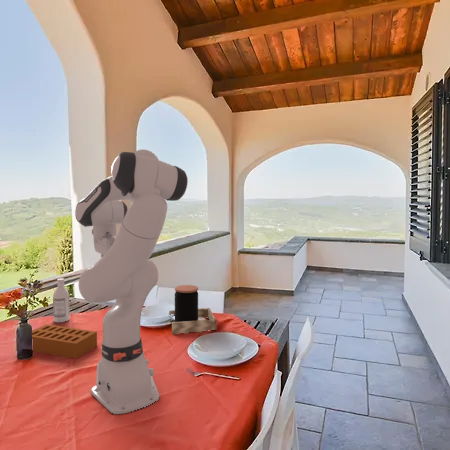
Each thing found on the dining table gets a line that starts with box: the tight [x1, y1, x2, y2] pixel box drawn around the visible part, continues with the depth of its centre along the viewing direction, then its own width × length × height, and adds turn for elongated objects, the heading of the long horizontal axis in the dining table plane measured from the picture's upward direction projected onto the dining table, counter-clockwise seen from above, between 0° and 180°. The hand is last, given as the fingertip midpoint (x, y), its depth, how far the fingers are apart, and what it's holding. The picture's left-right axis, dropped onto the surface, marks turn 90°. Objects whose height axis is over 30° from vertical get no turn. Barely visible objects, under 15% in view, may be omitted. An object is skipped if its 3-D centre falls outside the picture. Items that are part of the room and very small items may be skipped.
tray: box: [168, 307, 217, 335], centre depth 158 cm, size 20×17×5 cm
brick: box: [31, 324, 98, 359], centre depth 134 cm, size 25×12×6 cm, turn 73°
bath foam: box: [52, 277, 71, 324], centre depth 162 cm, size 7×7×20 cm
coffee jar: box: [174, 284, 199, 322], centre depth 157 cm, size 11×11×18 cm
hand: (105, 265), depth 139 cm, fingers closed
